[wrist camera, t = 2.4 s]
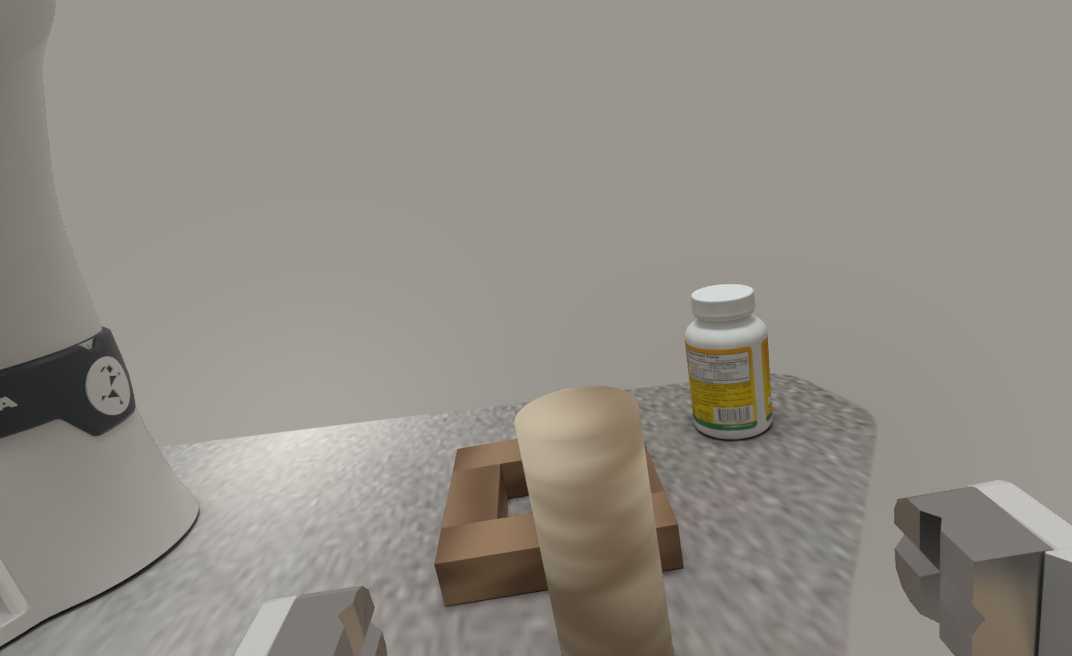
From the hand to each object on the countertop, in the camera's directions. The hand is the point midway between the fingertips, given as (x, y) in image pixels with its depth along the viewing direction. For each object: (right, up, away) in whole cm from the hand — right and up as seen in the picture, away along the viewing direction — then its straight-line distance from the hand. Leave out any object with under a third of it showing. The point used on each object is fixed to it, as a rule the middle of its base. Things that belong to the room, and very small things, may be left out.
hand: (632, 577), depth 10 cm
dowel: (+2, -10, +16) cm, 19 cm away
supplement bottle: (+12, -3, +35) cm, 37 cm away
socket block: (0, -7, +28) cm, 29 cm away
